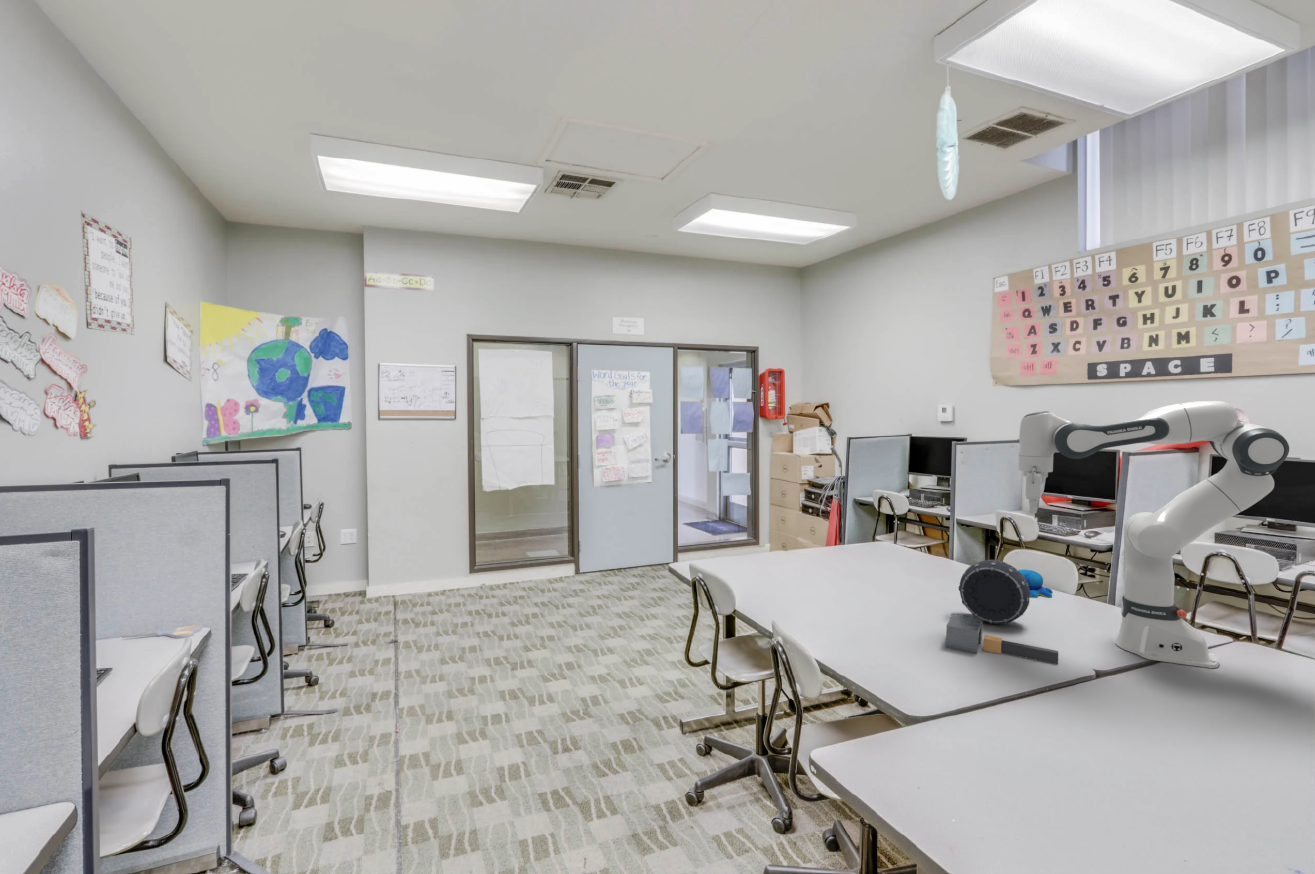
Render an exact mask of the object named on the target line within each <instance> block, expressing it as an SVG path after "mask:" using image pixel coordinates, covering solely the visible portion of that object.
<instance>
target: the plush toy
mask: <svg viewBox="0 0 1315 874" xmlns="http://www.w3.org/2000/svg"><path fill="white" fill-rule="evenodd" d="M1017 570H1018V571H1019V572H1020V573H1021V574H1022V575H1023V576H1024V578H1025V579H1026V581H1027V583H1028V586H1029V589H1030V598H1031V599H1032V598H1033V599H1037V598H1039V596H1041V597H1045V598H1046V599H1047V598H1053V593H1054V592H1053V590H1052V589H1051V588H1048V587H1045V586H1043V584H1044V579H1043V576H1042V575H1041V573H1039V572H1037V571H1035V570H1032V569H1017Z"/></svg>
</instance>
